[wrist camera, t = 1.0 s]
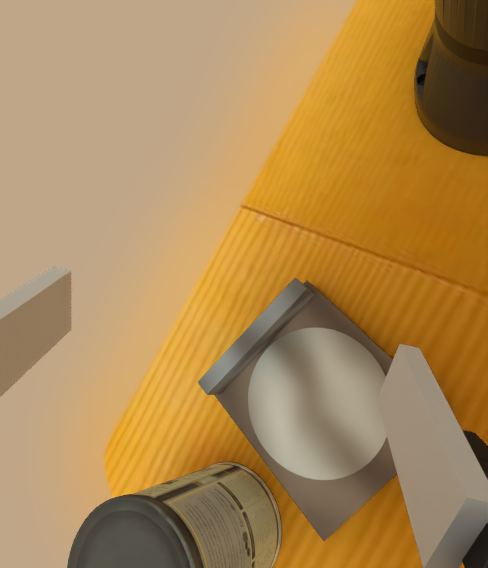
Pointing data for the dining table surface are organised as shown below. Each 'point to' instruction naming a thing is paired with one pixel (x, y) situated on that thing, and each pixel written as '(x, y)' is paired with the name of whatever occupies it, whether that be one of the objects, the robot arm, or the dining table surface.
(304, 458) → the plate
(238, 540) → the coffee can
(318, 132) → the dining table surface
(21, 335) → the robot arm
